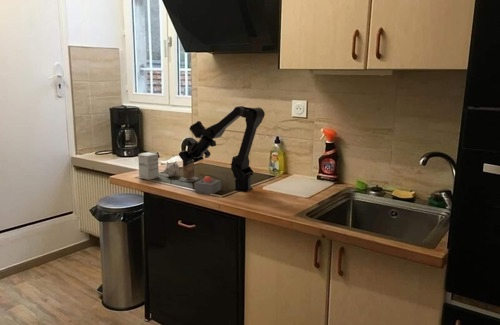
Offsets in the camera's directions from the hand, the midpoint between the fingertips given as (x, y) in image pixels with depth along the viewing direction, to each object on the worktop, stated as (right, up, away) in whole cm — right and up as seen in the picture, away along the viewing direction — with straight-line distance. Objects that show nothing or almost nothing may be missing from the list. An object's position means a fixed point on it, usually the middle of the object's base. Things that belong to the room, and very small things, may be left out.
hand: (186, 164), depth 211 cm
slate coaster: (+1, -8, +1) cm, 8 cm away
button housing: (+13, -12, -19) cm, 26 cm away
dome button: (+13, -12, -19) cm, 26 cm away
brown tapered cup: (+1, -7, +1) cm, 7 cm away
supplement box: (-20, -7, +5) cm, 22 cm away
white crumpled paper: (-8, -6, +7) cm, 13 cm away
